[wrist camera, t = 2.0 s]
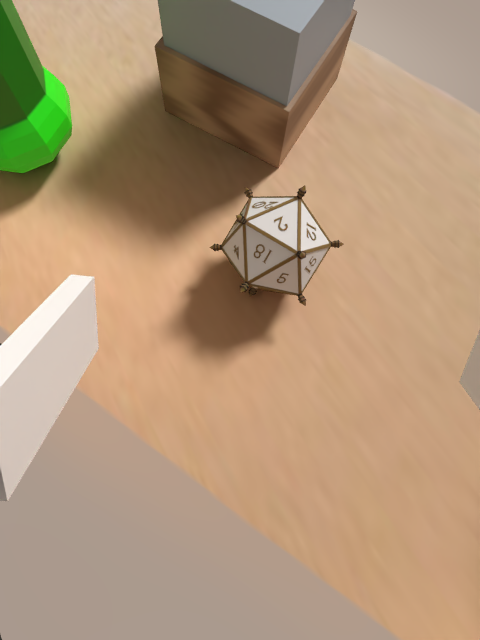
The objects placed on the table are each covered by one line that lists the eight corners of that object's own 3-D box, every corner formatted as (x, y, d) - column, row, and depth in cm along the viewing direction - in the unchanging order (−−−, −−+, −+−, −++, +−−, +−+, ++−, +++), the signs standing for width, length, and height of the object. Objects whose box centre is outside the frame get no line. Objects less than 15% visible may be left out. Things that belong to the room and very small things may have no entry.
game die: (245, 291, 40) (167, 247, 32) (294, 209, 39) (227, 144, 31) (318, 338, 34) (246, 299, 27) (378, 244, 34) (321, 175, 26)
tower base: (336, 80, 43) (357, 11, 36) (278, 169, 40) (289, 112, 33) (230, 29, 44) (231, -46, 38) (165, 112, 41) (154, 45, 35)
